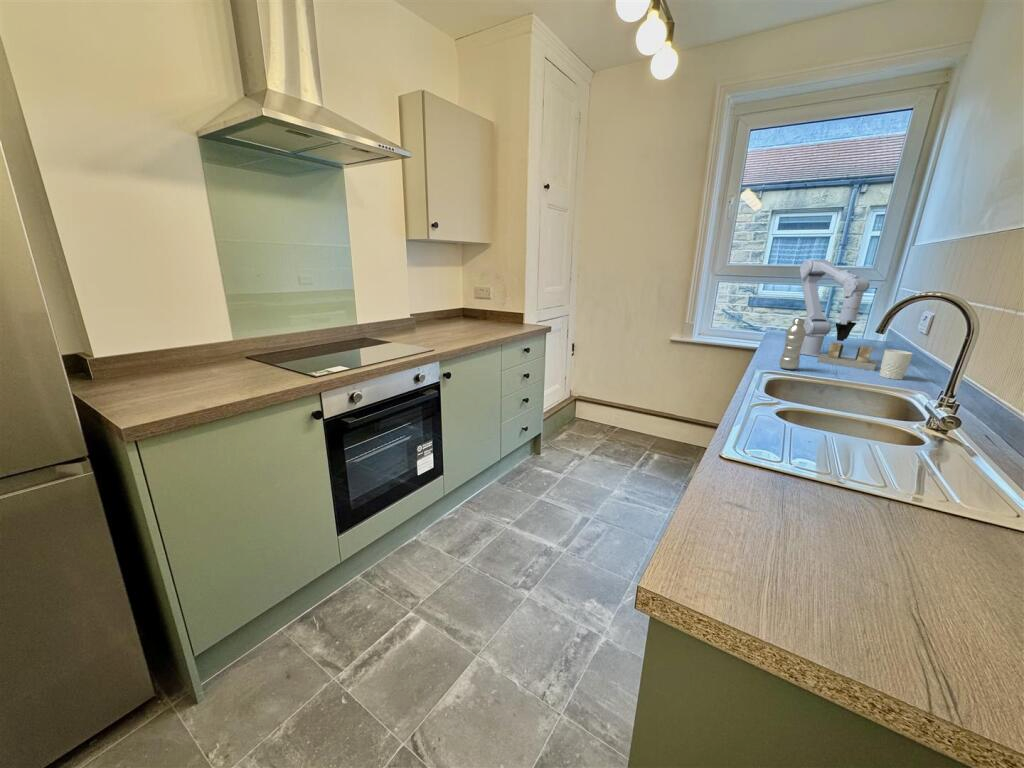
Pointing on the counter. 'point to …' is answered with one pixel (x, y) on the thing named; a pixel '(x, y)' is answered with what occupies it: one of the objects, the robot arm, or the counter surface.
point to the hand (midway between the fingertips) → (841, 339)
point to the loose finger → (835, 350)
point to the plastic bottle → (793, 344)
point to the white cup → (895, 363)
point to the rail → (847, 362)
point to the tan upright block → (863, 354)
